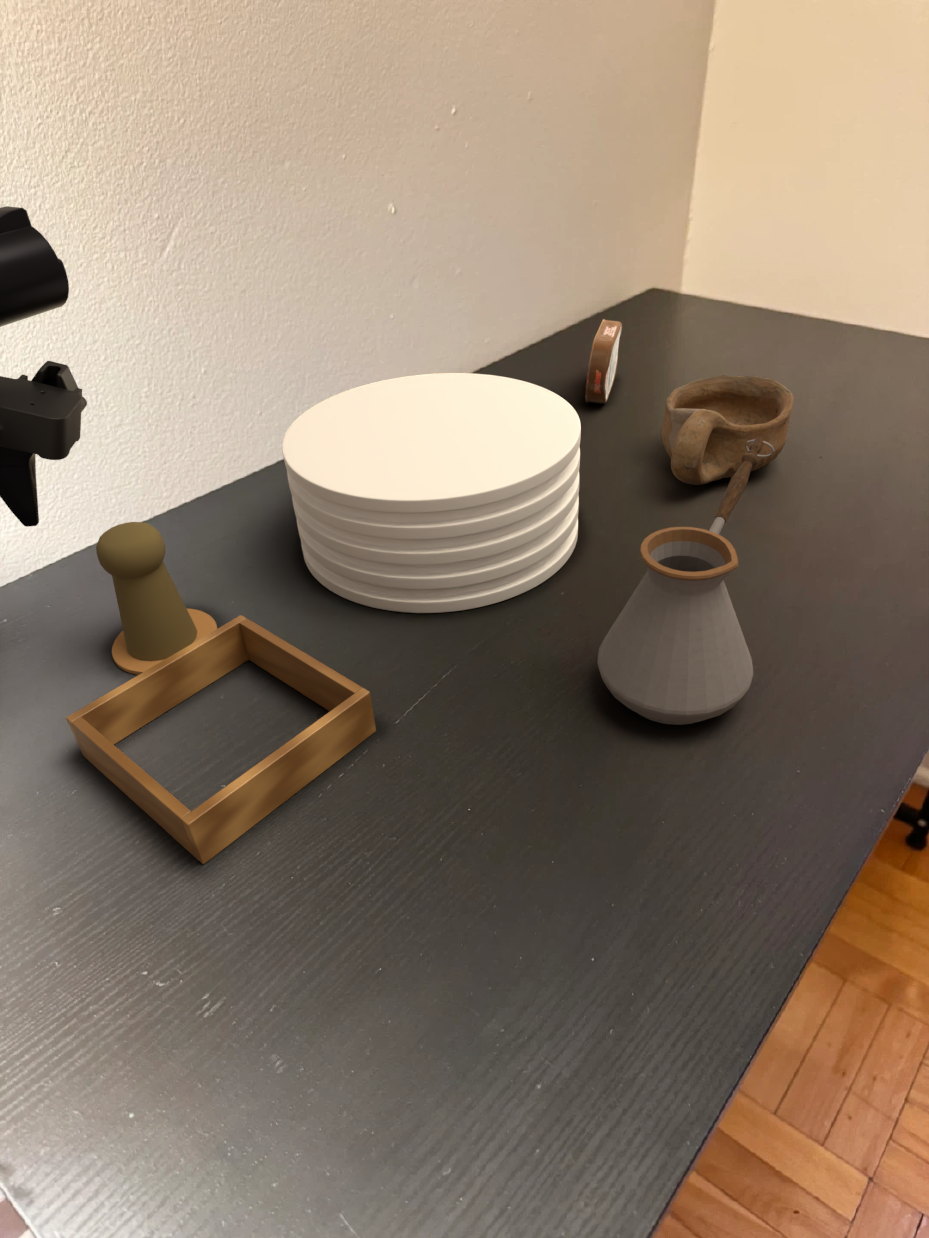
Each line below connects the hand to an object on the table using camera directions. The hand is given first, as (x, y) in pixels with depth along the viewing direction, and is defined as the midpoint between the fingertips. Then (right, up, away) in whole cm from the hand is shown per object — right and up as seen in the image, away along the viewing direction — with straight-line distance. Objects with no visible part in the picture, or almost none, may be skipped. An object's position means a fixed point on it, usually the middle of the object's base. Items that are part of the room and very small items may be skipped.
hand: (10, 556), depth 64 cm
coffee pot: (+53, -8, +5) cm, 54 cm away
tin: (+53, +26, +50) cm, 77 cm away
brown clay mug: (+62, +12, +30) cm, 70 cm away
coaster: (+8, -7, +10) cm, 15 cm away
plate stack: (+32, +4, +23) cm, 39 cm away
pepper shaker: (+8, -7, +10) cm, 14 cm away
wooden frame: (+17, -14, 0) cm, 22 cm away
